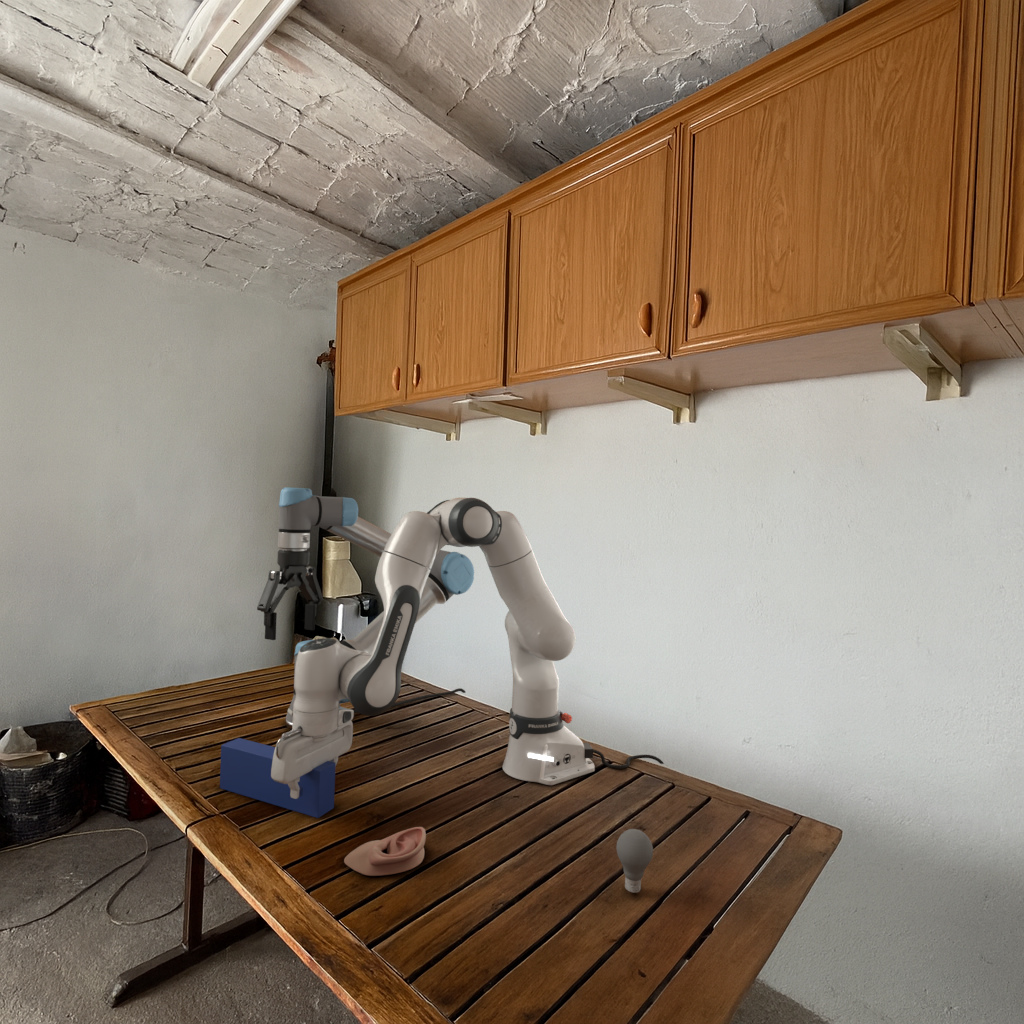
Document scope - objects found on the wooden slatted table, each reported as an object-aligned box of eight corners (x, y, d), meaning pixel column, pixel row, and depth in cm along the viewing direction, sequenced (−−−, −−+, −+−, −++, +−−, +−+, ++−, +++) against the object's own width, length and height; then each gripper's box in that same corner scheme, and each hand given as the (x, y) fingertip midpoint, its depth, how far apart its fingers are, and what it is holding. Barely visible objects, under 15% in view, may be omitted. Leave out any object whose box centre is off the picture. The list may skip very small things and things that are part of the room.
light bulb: (610, 879, 108) (613, 822, 108) (644, 879, 109) (647, 822, 109) (619, 902, 102) (622, 840, 102) (655, 901, 103) (658, 840, 103)
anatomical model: (336, 847, 108) (365, 815, 119) (335, 870, 108) (364, 836, 119) (410, 859, 105) (432, 825, 116) (409, 883, 105) (431, 846, 116)
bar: (219, 788, 136) (221, 745, 135) (237, 779, 140) (238, 737, 140) (318, 818, 125) (319, 771, 125) (334, 807, 129) (335, 762, 129)
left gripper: (267, 553, 145) (264, 645, 145) (338, 547, 168) (335, 627, 168) (243, 551, 148) (239, 641, 148) (316, 545, 171) (313, 624, 171)
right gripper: (290, 739, 118) (287, 813, 118) (359, 708, 136) (356, 772, 136) (264, 733, 120) (261, 805, 120) (335, 703, 139) (332, 766, 139)
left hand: (290, 634), depth 158 cm, fingers open, 13 cm apart
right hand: (312, 787), depth 129 cm, fingers open, 8 cm apart
